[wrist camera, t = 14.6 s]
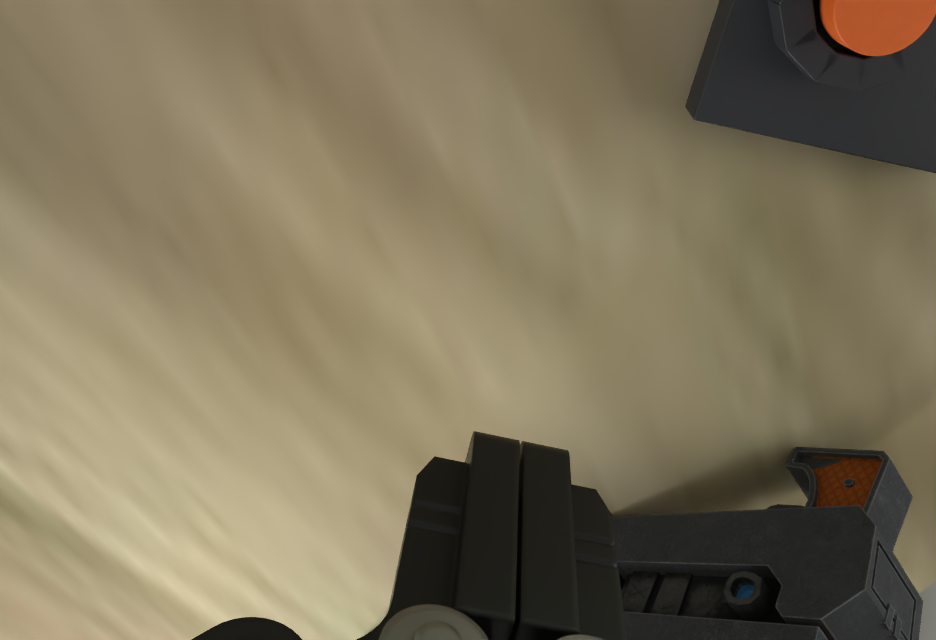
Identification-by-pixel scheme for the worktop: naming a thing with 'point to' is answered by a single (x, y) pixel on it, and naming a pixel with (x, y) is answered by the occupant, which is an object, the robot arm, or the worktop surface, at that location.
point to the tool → (777, 561)
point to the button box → (816, 84)
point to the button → (876, 23)
